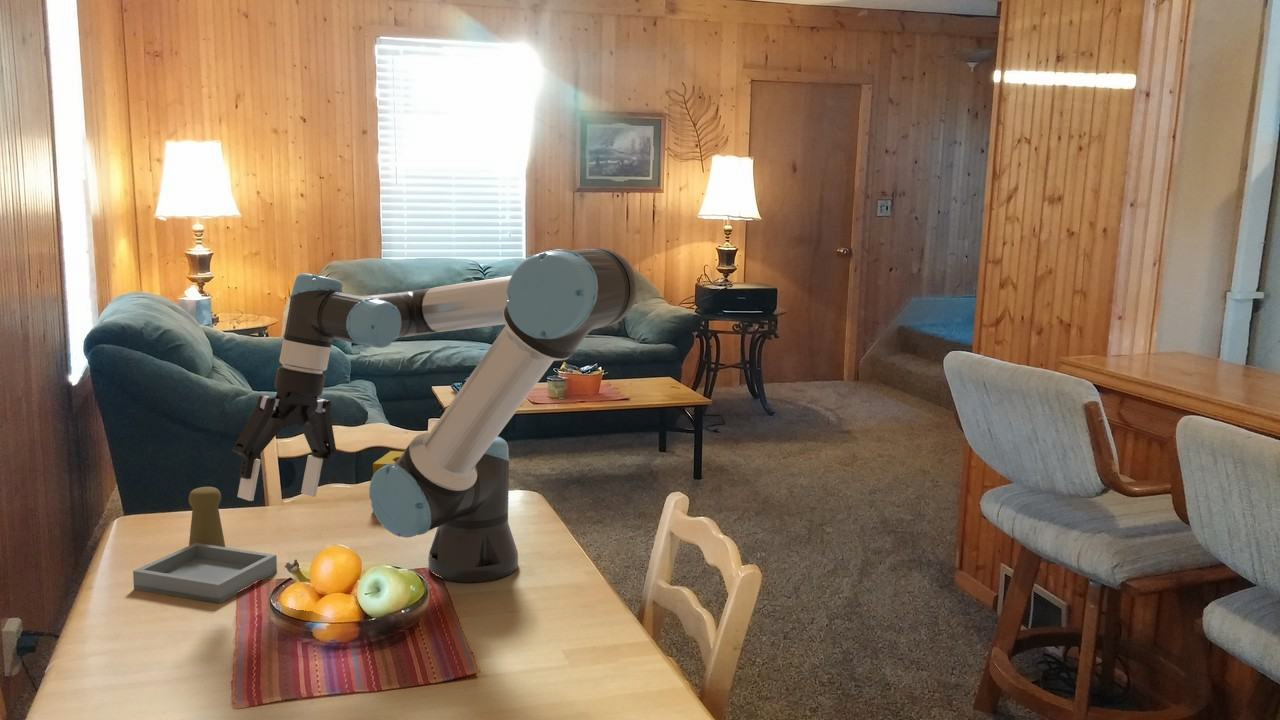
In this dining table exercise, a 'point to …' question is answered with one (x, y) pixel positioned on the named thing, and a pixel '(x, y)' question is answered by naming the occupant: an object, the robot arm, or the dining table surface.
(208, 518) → the cork
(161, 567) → the tray
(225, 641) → the dining table surface
